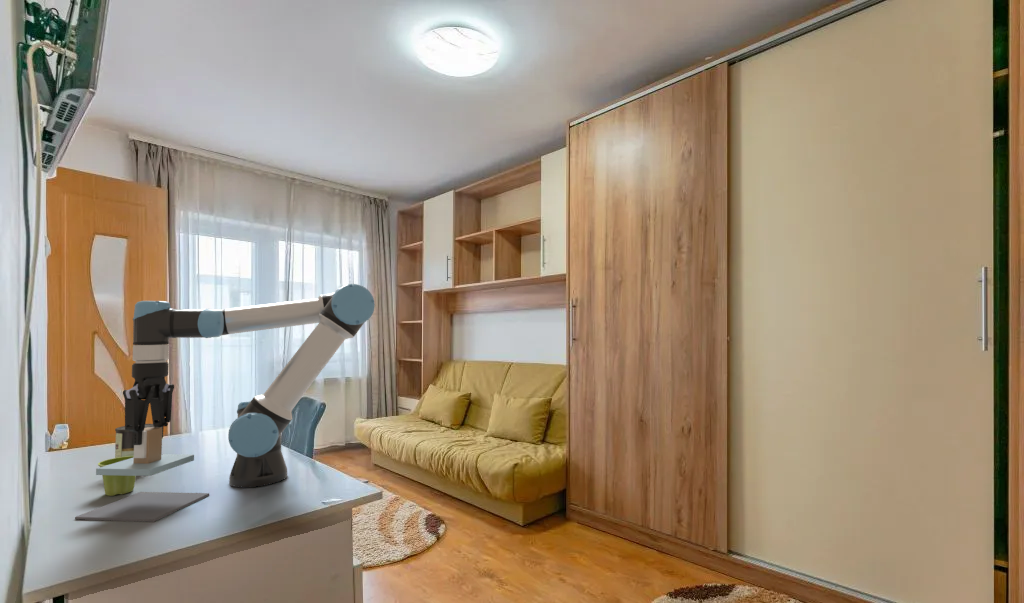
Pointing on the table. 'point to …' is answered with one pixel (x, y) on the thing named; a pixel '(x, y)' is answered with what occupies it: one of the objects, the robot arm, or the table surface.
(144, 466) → the cover lid
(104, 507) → the mat
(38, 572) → the table surface
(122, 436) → the coffee can
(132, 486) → the plant pot
